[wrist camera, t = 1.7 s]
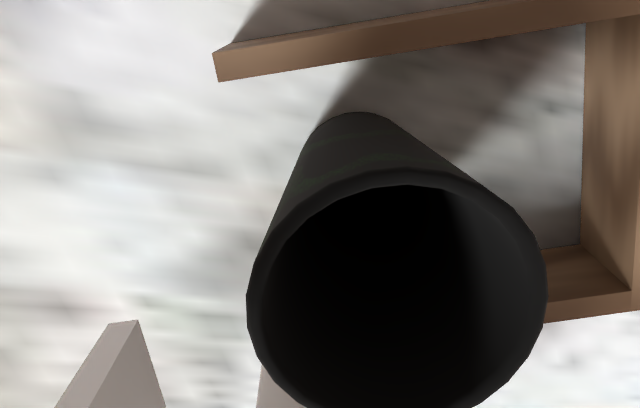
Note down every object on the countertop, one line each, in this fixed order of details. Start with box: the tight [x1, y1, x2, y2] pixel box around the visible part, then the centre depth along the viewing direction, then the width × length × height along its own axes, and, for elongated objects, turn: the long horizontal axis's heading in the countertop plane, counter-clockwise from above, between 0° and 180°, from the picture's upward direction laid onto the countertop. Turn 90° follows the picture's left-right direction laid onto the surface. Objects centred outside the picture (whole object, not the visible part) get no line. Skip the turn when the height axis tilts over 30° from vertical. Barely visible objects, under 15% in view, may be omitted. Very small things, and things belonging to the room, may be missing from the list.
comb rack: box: [212, 0, 640, 324], centre depth 20 cm, size 25×17×6 cm
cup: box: [246, 112, 549, 408], centre depth 19 cm, size 8×8×12 cm
